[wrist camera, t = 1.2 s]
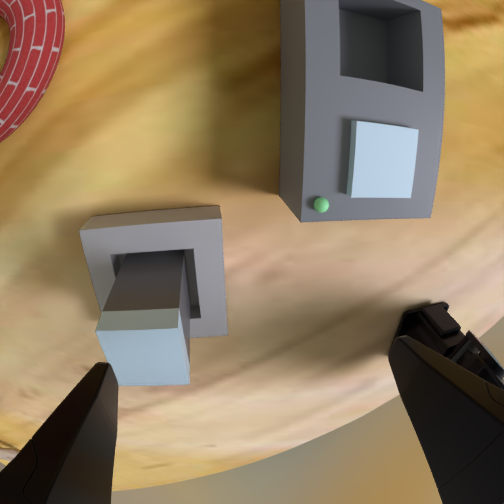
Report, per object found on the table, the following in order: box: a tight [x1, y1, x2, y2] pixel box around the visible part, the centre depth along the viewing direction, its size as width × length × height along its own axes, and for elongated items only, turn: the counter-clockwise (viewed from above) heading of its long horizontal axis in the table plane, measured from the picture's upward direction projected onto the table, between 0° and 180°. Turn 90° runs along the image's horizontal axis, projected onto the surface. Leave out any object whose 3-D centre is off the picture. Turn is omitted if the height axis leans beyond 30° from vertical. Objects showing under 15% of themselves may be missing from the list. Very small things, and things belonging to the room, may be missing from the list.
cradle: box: [79, 206, 228, 338], centre depth 21 cm, size 9×9×2 cm
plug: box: [95, 249, 190, 386], centre depth 17 cm, size 4×4×8 cm
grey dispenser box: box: [279, 0, 445, 222], centre depth 15 cm, size 14×9×6 cm, turn 0°
